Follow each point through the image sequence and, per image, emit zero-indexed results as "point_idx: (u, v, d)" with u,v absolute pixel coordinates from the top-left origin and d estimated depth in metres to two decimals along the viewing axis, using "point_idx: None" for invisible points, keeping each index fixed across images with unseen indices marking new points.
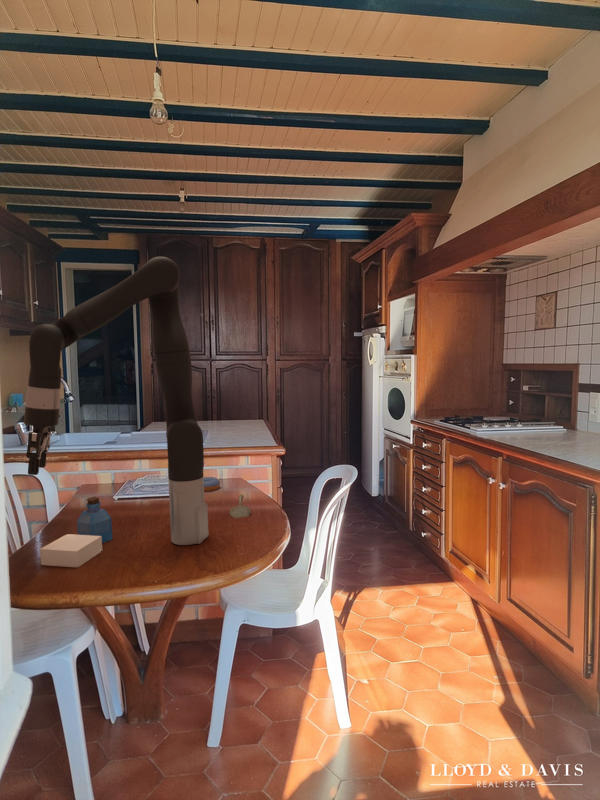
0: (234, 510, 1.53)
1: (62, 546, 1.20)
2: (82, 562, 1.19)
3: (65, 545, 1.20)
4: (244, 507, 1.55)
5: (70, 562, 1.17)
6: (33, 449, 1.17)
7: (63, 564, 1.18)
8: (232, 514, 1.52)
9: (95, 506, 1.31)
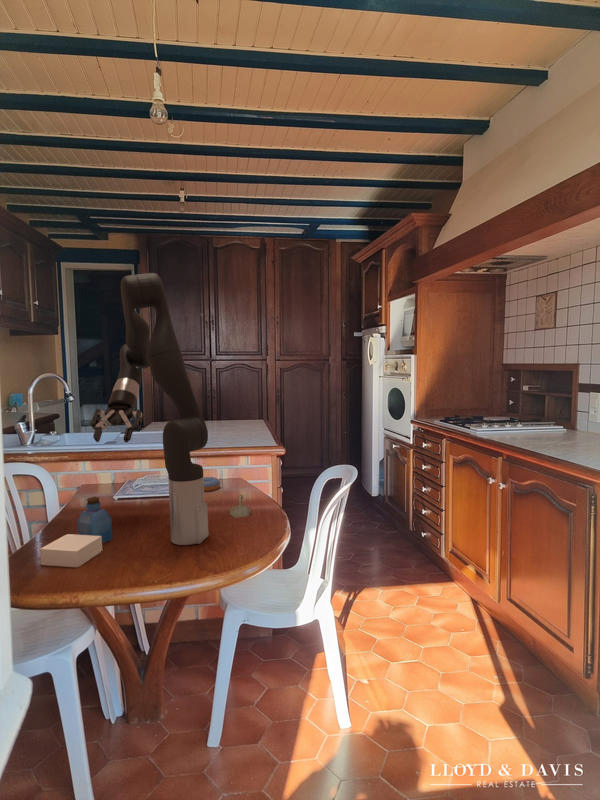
0: (234, 510, 1.54)
1: (62, 546, 1.20)
2: (82, 562, 1.19)
3: (65, 545, 1.20)
4: (244, 507, 1.55)
5: (70, 562, 1.17)
6: (104, 424, 1.46)
7: (63, 564, 1.18)
8: (232, 513, 1.53)
9: (95, 506, 1.31)
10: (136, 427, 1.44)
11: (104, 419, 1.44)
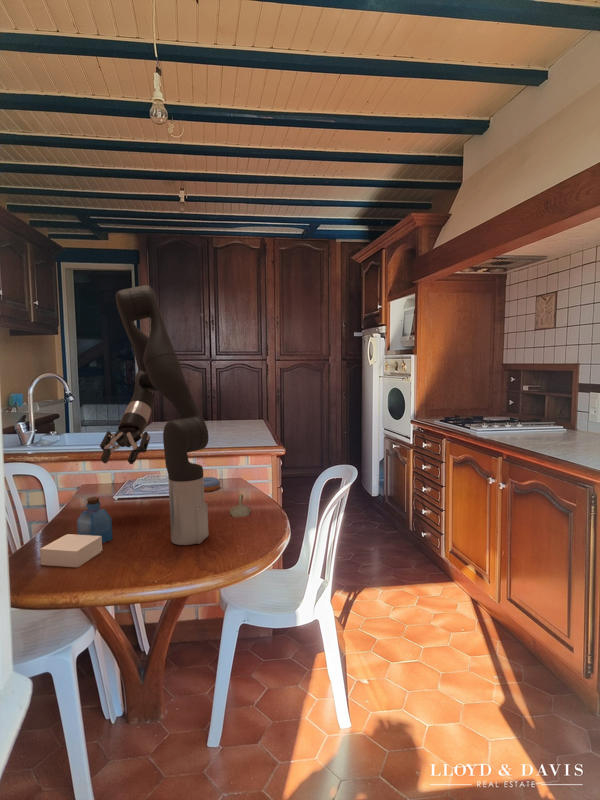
0: (234, 509, 1.54)
1: (62, 546, 1.20)
2: (82, 562, 1.19)
3: (65, 545, 1.20)
4: (244, 506, 1.55)
5: (70, 562, 1.17)
6: (113, 446, 1.49)
7: (63, 564, 1.18)
8: (232, 513, 1.53)
9: (95, 506, 1.31)
10: (141, 449, 1.45)
11: (112, 441, 1.47)
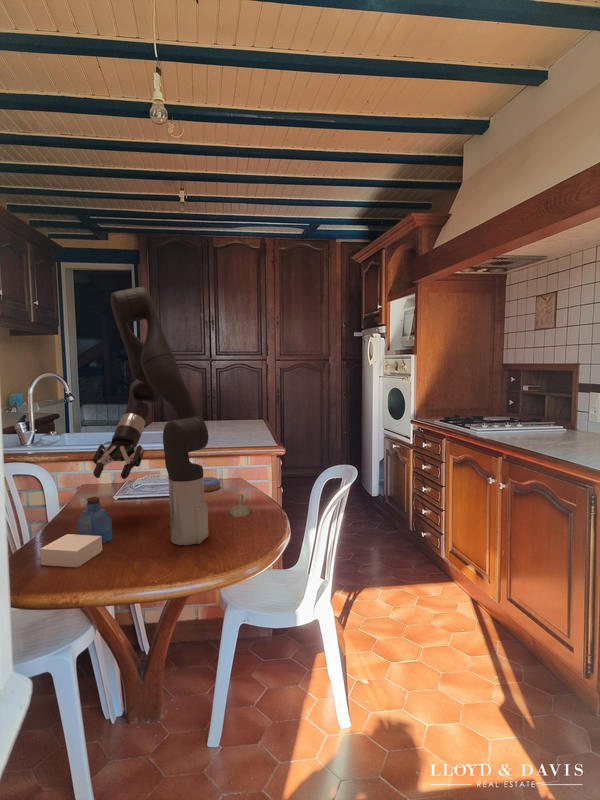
0: (234, 509, 1.54)
1: (62, 546, 1.20)
2: (82, 562, 1.19)
3: (65, 545, 1.20)
4: (244, 506, 1.56)
5: (70, 562, 1.17)
6: (106, 460, 1.45)
7: (63, 564, 1.18)
8: (232, 513, 1.53)
9: (95, 506, 1.31)
10: (135, 463, 1.41)
11: (105, 455, 1.43)
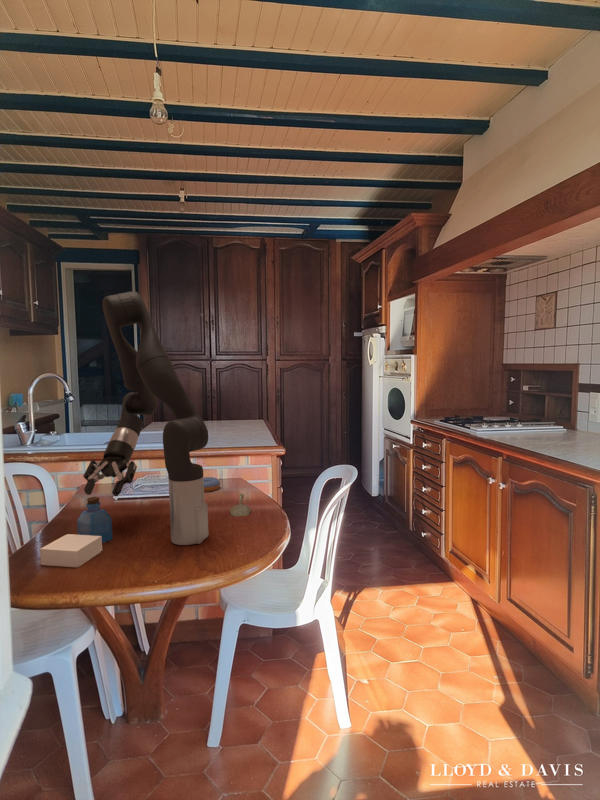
0: (234, 509, 1.55)
1: (62, 546, 1.20)
2: (82, 562, 1.19)
3: (65, 545, 1.20)
4: (244, 506, 1.56)
5: (70, 562, 1.17)
6: (97, 476, 1.41)
7: (63, 564, 1.18)
8: (232, 513, 1.53)
9: (95, 506, 1.31)
10: (127, 480, 1.37)
11: (97, 471, 1.39)
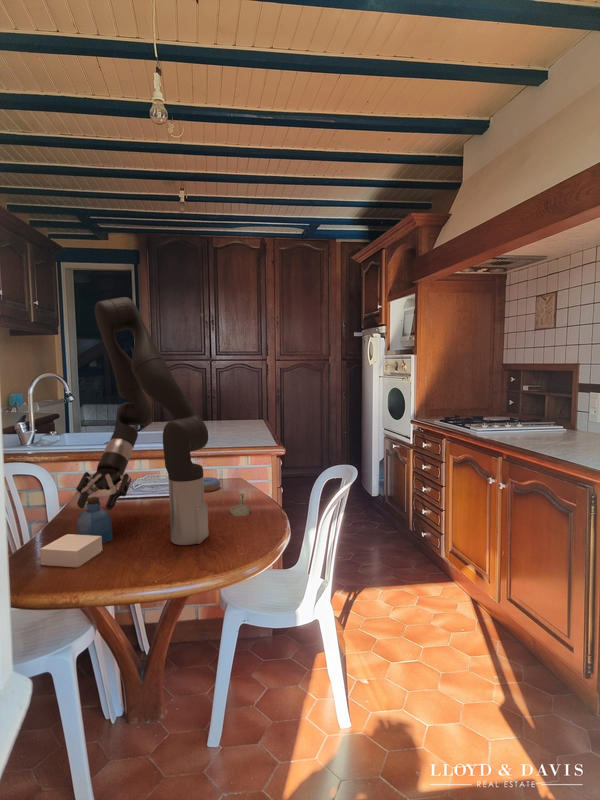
0: (234, 508, 1.55)
1: (62, 546, 1.20)
2: (82, 562, 1.19)
3: (65, 545, 1.20)
4: (244, 506, 1.56)
5: (70, 562, 1.17)
6: (91, 488, 1.38)
7: (63, 564, 1.18)
8: (232, 512, 1.54)
9: (95, 506, 1.31)
10: (121, 493, 1.34)
11: (90, 484, 1.36)
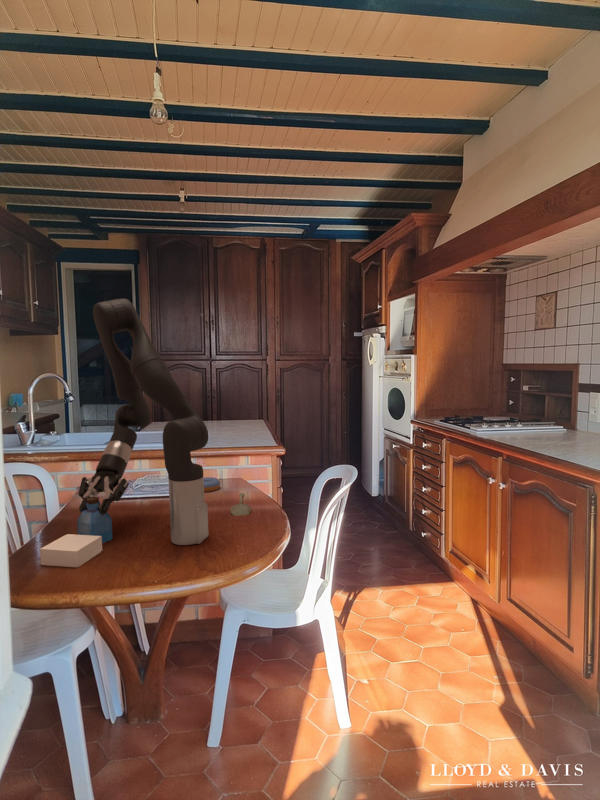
0: (235, 508, 1.55)
1: (62, 546, 1.20)
2: (82, 562, 1.19)
3: (65, 545, 1.20)
4: (244, 505, 1.57)
5: (70, 562, 1.17)
6: (91, 493, 1.37)
7: (63, 564, 1.18)
8: (232, 512, 1.54)
9: (95, 506, 1.31)
10: (114, 498, 1.34)
11: (91, 487, 1.35)
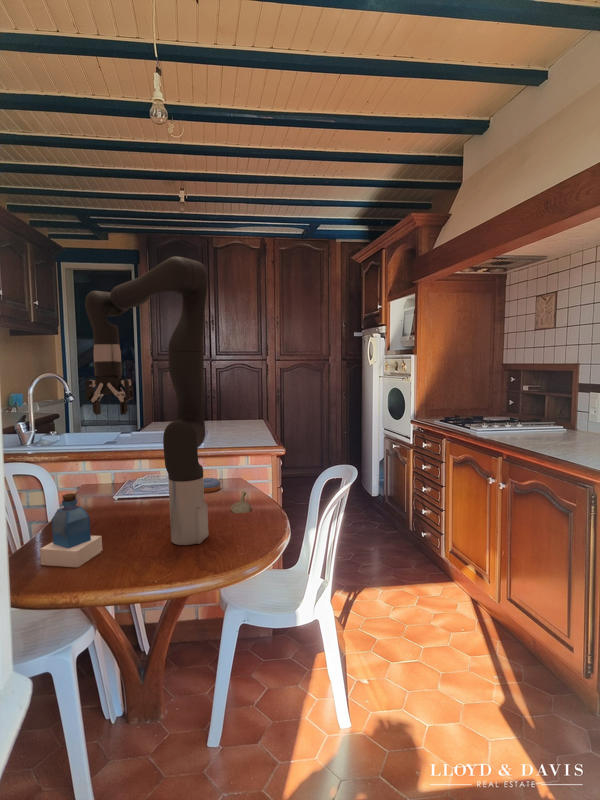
0: (235, 506, 1.58)
1: None
2: (82, 562, 1.19)
3: None
4: (245, 503, 1.59)
5: (70, 562, 1.17)
6: None
7: (63, 564, 1.18)
8: (233, 509, 1.57)
9: (71, 503, 1.20)
10: (129, 399, 1.44)
11: (96, 394, 1.44)
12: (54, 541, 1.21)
